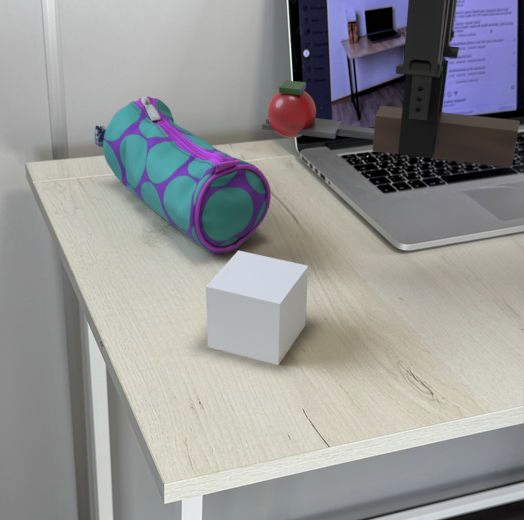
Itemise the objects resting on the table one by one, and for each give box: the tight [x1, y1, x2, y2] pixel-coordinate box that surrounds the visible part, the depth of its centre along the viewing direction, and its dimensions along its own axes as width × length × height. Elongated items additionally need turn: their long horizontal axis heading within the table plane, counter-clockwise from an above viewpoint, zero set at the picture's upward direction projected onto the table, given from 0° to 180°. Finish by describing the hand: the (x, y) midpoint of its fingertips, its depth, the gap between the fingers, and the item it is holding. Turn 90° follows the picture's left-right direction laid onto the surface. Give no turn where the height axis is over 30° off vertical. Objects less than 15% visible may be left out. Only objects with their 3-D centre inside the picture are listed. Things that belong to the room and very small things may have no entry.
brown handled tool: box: [261, 79, 521, 169], centre depth 71 cm, size 20×4×4 cm, turn 73°
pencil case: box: [94, 95, 272, 255], centre depth 86 cm, size 21×9×10 cm, turn 33°
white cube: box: [205, 250, 309, 366], centre depth 69 cm, size 6×6×6 cm
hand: (418, 146), depth 71 cm, fingers closed on brown handled tool, 2 cm apart
